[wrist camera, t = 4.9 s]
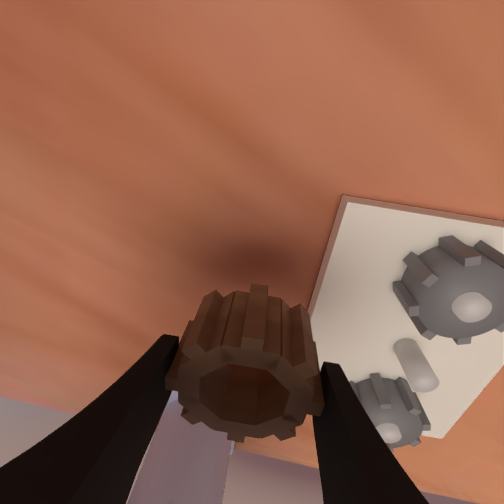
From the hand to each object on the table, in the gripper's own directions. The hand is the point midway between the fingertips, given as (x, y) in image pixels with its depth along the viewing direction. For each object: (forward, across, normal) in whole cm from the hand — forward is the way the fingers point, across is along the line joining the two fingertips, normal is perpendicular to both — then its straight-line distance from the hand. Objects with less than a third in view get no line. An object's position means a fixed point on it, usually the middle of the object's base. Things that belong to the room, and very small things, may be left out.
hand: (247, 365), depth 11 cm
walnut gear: (+2, 0, 0) cm, 2 cm away
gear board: (+9, -11, +4) cm, 15 cm away
